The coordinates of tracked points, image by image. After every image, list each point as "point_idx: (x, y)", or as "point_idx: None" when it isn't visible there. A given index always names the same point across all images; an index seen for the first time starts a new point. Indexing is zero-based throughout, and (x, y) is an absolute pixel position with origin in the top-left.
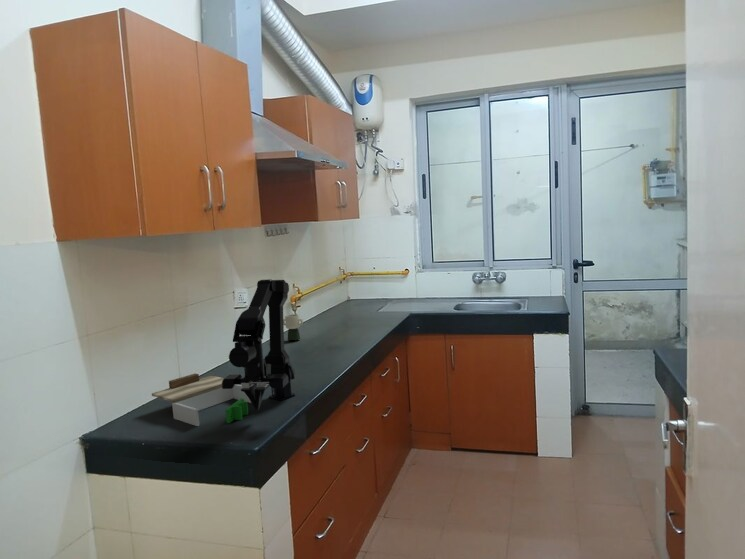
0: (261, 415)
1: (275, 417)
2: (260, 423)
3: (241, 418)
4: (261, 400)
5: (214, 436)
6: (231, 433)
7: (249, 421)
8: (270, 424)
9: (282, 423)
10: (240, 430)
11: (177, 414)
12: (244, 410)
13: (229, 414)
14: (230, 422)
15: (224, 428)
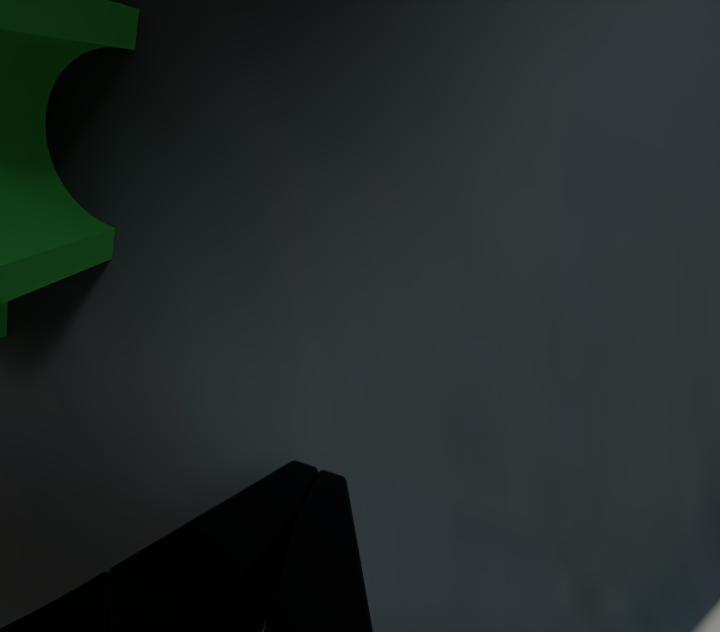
0: (377, 155)
1: (621, 322)
2: (398, 478)
3: (101, 261)
4: (365, 610)
5: (2, 625)
6: None
7: (237, 360)
8: (536, 556)
9: (710, 583)
10: None
11: None
12: (43, 39)
13: None
14: (6, 323)
15: (12, 477)
